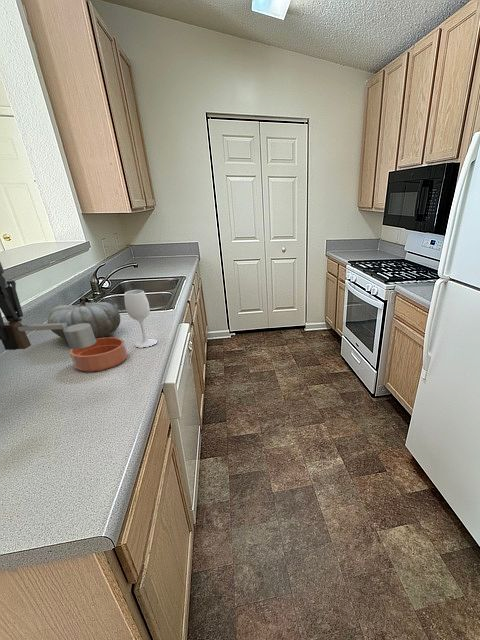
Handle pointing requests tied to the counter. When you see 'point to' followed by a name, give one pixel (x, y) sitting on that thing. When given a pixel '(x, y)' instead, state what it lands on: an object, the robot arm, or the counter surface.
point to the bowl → (99, 355)
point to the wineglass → (138, 313)
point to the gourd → (87, 317)
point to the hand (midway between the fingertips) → (16, 346)
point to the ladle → (74, 334)
